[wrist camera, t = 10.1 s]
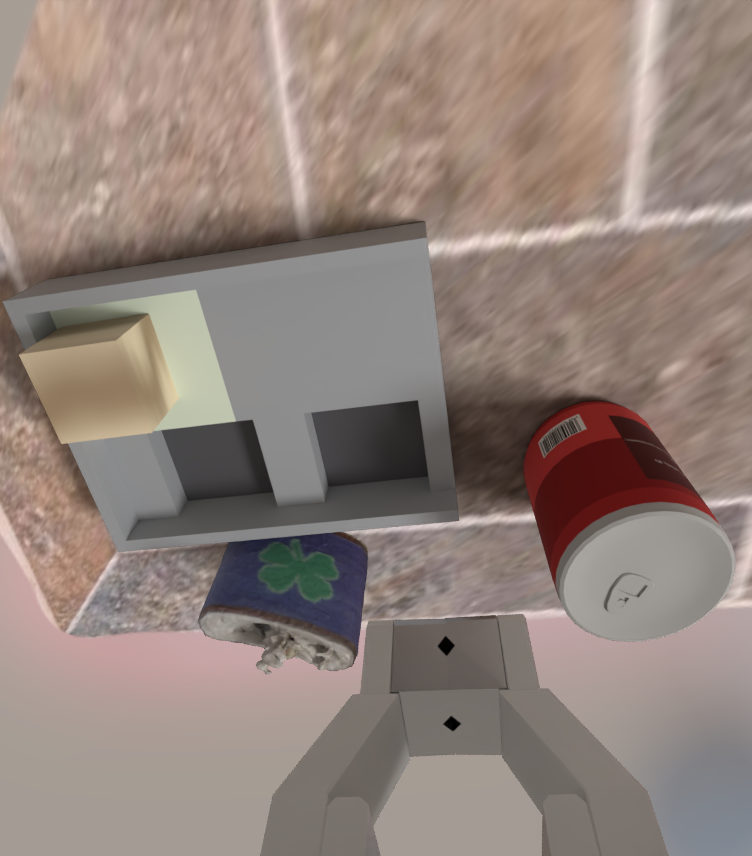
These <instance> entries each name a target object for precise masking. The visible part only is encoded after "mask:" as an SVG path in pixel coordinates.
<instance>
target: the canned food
mask: <svg viewBox="0 0 752 856" xmlns="http://www.w3.org/2000/svg"><path fill="white" fill-rule="evenodd" d="M524 478H525V483H526V487H527V490H528V494H529V497H530V501H531V504H532V508H533V512H534V515H535V519H536V522H537V526H538V529H539V533H540V536H541V540H542V543H543V547H544V550H545V554H546V558H547V561H548V565H549V568H550V572H551V575H552V579H553V582H554V584H555V588H556V591H557V594H558V597H559V599H560V601H561V603H562V606H563V608H564V610H565V611H566V613H567V615H568V616H569V617H570V618H571V620H572V621H573V622H574V623H575V624H576V625H578V626H579V627H580V628H582V629H583V630H585V631H586V632H588V633H591V634H593V635H595V636H597V637H601V638H605V639H609V640H613V641H624V642H636V641H647V640H652V639H658V638H662V637H665V636H668V635H671V634H675V633H677V632H679V631H681V630H683V629H685V628H688V627H690V626H691V625H693V624H695V623H696V622H698V621H699V620H701V619H702V618H704V617H705V616H706V615H707V614H708V613H710V612H711V611H712V610H713V609H714V608H715V607H716V606H717V605H718V604H719V602H720V601H721V600H722V599H723V597H724V596H725V595H726V593H727V591H728V589H729V587H730V585H731V583H732V581H733V577H734V573H735V554H734V551H733V548H732V545H731V543H730V541H729V540H728V537H727V535H726V533H725V532H724V530H723V529H722V527H721V526H720V524H719V523H718V521H717V520H716V518H715V517H714V515H713V514H712V512H711V511H710V509H709V508H708V507H707V505H706V504H705V502H704V501H703V500H702V498H701V497H700V496H699V494H698V493H697V491H696V490H695V489H694V487H693V486H692V485H691V483H690V482H689V480H688V479H687V478H686V476H685V475H684V474H683V472H682V471H681V469H680V468H679V467H678V465H677V464H676V463H675V461H674V460H673V458H672V457H671V456H670V454H669V453H668V452H667V450H666V449H665V448H664V446H663V445H662V443H661V442H660V441H659V439H658V438H657V437H656V435H655V434H654V432H653V431H652V430H651V428H650V427H649V426H648V424H647V423H646V421H644V420H643V419H642V418H641V417H640V416H639V415H638V414H636V413H634V412H633V411H631V410H629V409H627V408H625V407H623V406H620V405H617V404H614V403H610V402H602V401H591V402H583V403H579V404H575V405H571V406H569V407H567V408H565V409H562V410H560V411H558V412H557V413H555V414H554V415H552V416H551V417H549V418H548V419H547V420H546V421H545V422H544V423H543V424H542V425H541V426H540V427H539V428H538V430H537V431H536V432H535V434H534V435H533V437H532V439H531V441H530V443H529V445H528V448H527V452H526V456H525V460H524Z"/></svg>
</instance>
